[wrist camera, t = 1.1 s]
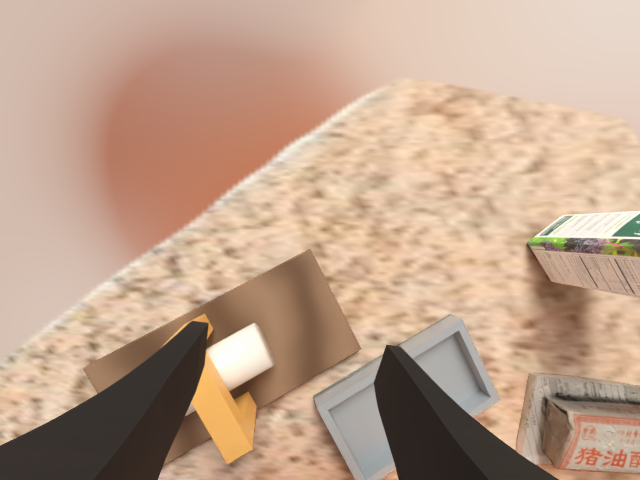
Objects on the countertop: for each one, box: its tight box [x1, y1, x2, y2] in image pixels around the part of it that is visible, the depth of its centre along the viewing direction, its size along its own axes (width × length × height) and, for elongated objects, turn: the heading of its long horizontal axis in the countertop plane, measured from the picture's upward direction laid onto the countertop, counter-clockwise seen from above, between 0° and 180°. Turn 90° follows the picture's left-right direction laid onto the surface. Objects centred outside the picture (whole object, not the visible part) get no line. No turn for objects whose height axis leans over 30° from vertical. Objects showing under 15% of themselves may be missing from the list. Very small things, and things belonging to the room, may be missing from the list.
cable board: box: [83, 249, 361, 465], centre depth 28 cm, size 22×11×1 cm, turn 117°
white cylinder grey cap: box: [185, 323, 275, 416], centre depth 25 cm, size 11×4×4 cm, turn 117°
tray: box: [314, 314, 500, 480], centre depth 30 cm, size 17×10×2 cm, turn 117°
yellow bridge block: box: [162, 314, 257, 464], centre depth 24 cm, size 2×10×6 cm, turn 27°
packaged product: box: [516, 373, 640, 474], centre depth 33 cm, size 18×5×10 cm
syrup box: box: [528, 211, 640, 298], centre depth 26 cm, size 6×6×14 cm
